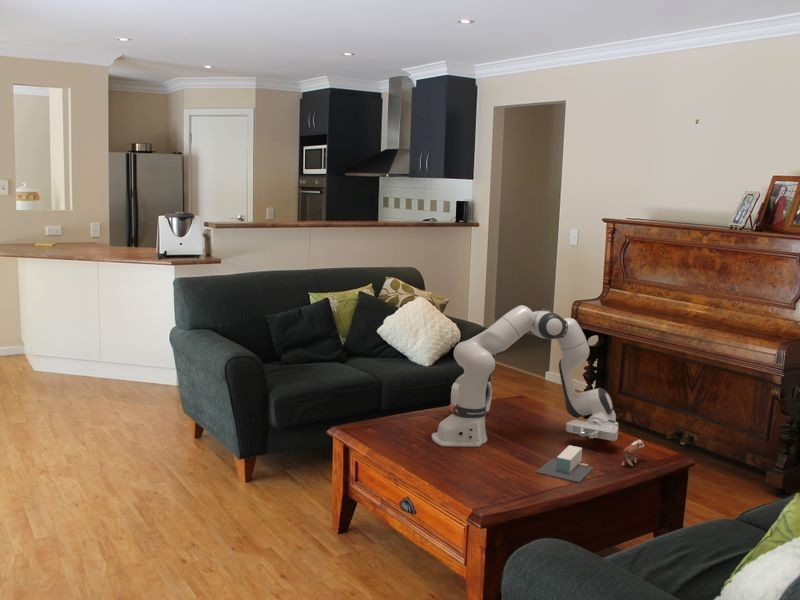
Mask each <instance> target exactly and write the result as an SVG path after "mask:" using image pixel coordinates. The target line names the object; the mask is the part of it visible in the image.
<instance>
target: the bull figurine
mask: <svg viewBox="0 0 800 600" xmlns="http://www.w3.org/2000/svg"><path fill="white" fill-rule="evenodd" d="M641 448H645V444H644V442H643V441H642V440H641V439H634V441H633V442H632V443H630V444H629V445H628V446H626V447H624V449H623V451H622V464H621V466H623V467H624V466H625V460H626V461H627V462H628V463H627V464H628V465H629V466H632V467H633V466H634V465H633V463H636V464H637V462H638V461H637V458H638V455H639V453H640V449H641ZM633 458H634V460H633ZM632 462H633V463H632Z"/></svg>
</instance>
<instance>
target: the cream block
mask: <svg viewBox="0 0 800 600" xmlns="http://www.w3.org/2000/svg"><path fill="white" fill-rule="evenodd" d="M582 456H583V447H580V446H574V445H571V444H569V445H568V446H567V447H566V448H565V449H564V450H563V451H562V452H561V453H559V455H557V456H556V458H555V459H556V471H560V472H565V473H570V472H571V471H572V470H573V469H574V468H575V467H576V466H577V465H578V464H579V463H582V458H583V457H582Z"/></svg>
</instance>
